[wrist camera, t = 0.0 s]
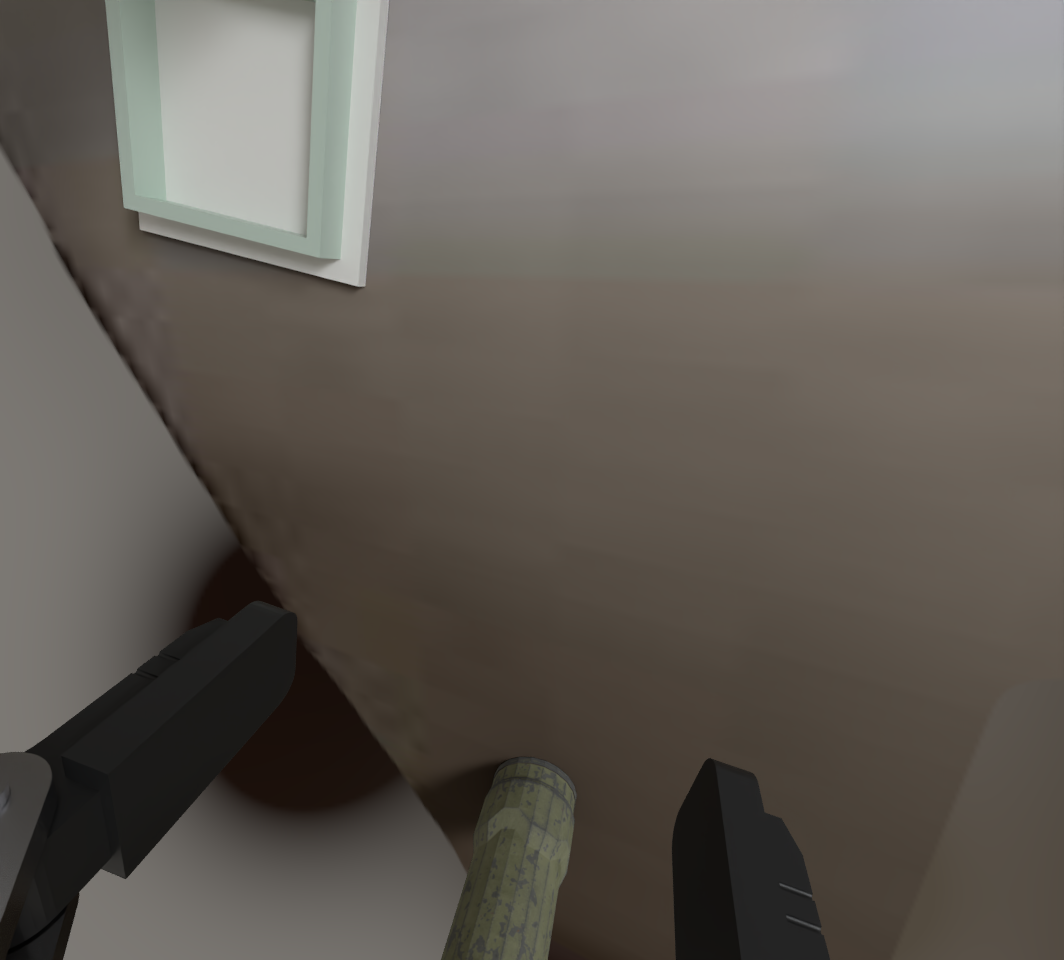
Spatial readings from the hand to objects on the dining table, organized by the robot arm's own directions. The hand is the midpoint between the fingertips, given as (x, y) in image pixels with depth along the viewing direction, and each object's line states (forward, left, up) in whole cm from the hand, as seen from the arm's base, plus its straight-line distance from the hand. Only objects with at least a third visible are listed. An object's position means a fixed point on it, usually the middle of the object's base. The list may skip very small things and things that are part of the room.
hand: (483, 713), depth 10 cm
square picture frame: (-12, -28, -30) cm, 43 cm away
